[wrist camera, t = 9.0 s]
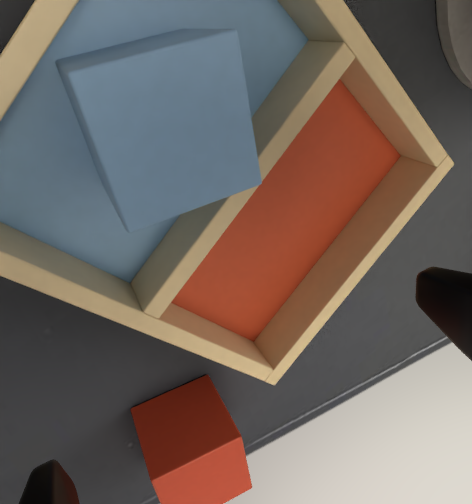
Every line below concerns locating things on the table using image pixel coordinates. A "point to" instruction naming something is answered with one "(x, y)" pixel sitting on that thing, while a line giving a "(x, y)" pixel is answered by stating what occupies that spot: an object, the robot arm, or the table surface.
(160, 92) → the blue block
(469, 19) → the mate gourd
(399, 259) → the table surface
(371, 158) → the sorting tray
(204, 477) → the red block
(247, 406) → the table surface
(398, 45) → the table surface
